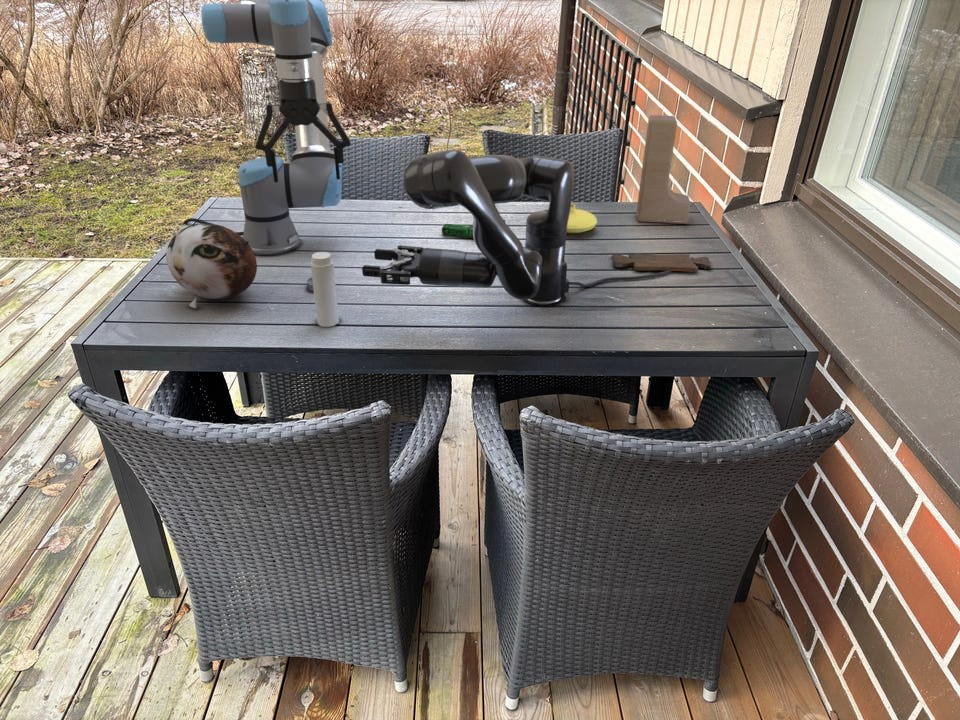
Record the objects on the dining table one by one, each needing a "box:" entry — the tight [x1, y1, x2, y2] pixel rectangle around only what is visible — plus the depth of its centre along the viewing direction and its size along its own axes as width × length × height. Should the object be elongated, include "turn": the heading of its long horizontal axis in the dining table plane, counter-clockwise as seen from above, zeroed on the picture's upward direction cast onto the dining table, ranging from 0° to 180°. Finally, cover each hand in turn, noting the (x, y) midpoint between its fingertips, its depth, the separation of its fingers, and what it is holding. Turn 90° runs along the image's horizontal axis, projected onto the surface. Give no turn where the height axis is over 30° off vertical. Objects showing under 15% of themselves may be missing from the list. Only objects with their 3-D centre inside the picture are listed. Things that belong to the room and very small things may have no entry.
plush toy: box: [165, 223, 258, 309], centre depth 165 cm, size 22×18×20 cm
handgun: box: [441, 219, 506, 239], centre depth 207 cm, size 16×3×15 cm
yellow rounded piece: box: [566, 203, 598, 234], centre depth 209 cm, size 16×16×7 cm
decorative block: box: [635, 114, 692, 225], centre depth 212 cm, size 8×15×30 cm, turn 82°
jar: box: [310, 251, 340, 328], centre depth 155 cm, size 5×5×16 cm
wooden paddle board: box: [611, 252, 711, 273], centre depth 188 cm, size 26×2×10 cm
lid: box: [306, 277, 314, 293], centre depth 174 cm, size 6×6×2 cm
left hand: (307, 179), depth 161 cm, fingers open, 13 cm apart
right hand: (369, 262), depth 150 cm, fingers open, 8 cm apart
